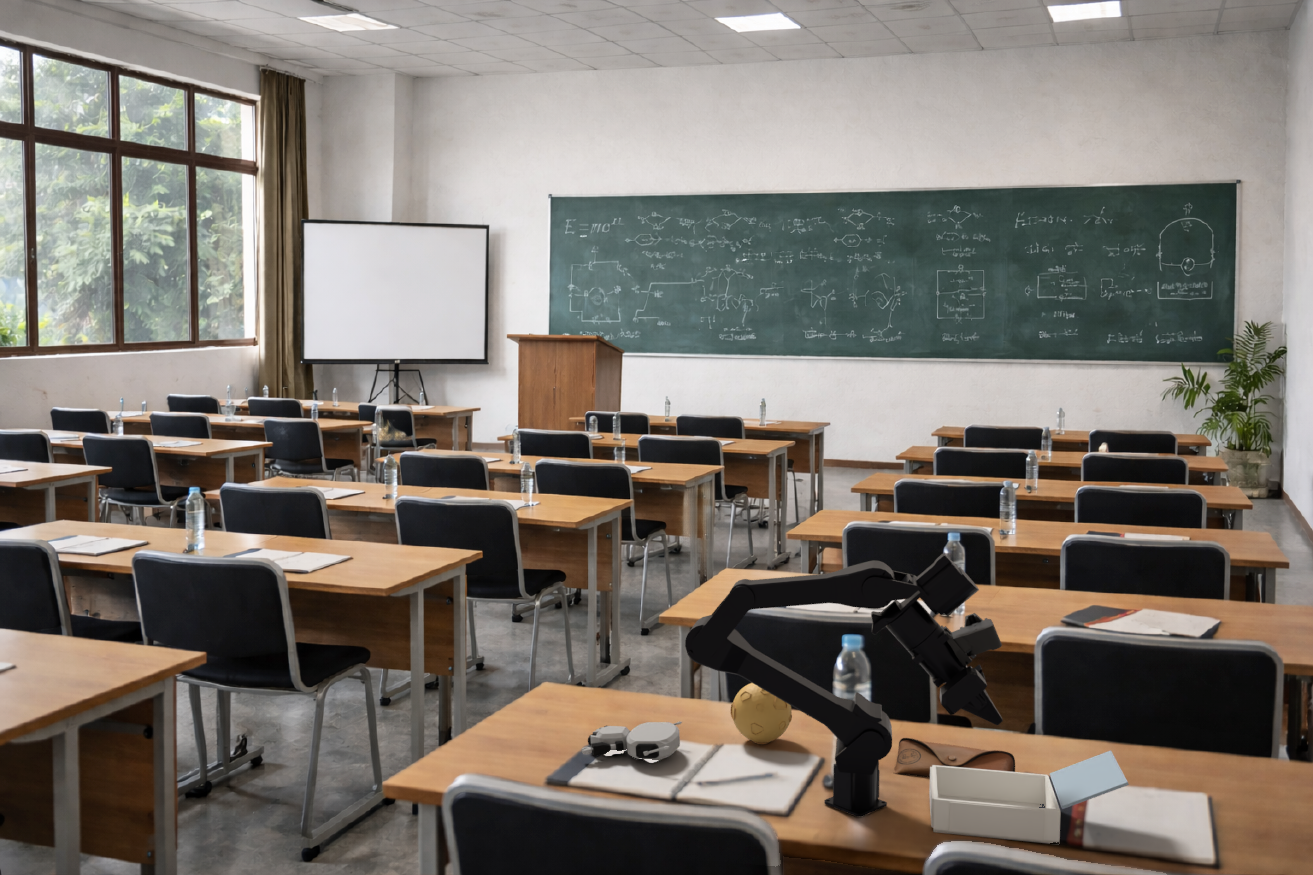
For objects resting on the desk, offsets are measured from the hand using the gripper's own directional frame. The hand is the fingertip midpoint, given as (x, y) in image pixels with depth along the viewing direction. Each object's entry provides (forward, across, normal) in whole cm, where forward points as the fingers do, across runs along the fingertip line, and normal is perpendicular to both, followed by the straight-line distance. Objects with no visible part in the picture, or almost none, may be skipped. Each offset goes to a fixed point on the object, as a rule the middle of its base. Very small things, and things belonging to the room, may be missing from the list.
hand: (1000, 722), depth 151 cm
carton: (+9, 0, +10) cm, 13 cm away
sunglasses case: (+7, +16, +13) cm, 22 cm away
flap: (+11, -1, +1) cm, 11 cm away
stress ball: (-14, +24, +35) cm, 45 cm away
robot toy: (-27, +14, +49) cm, 58 cm away
